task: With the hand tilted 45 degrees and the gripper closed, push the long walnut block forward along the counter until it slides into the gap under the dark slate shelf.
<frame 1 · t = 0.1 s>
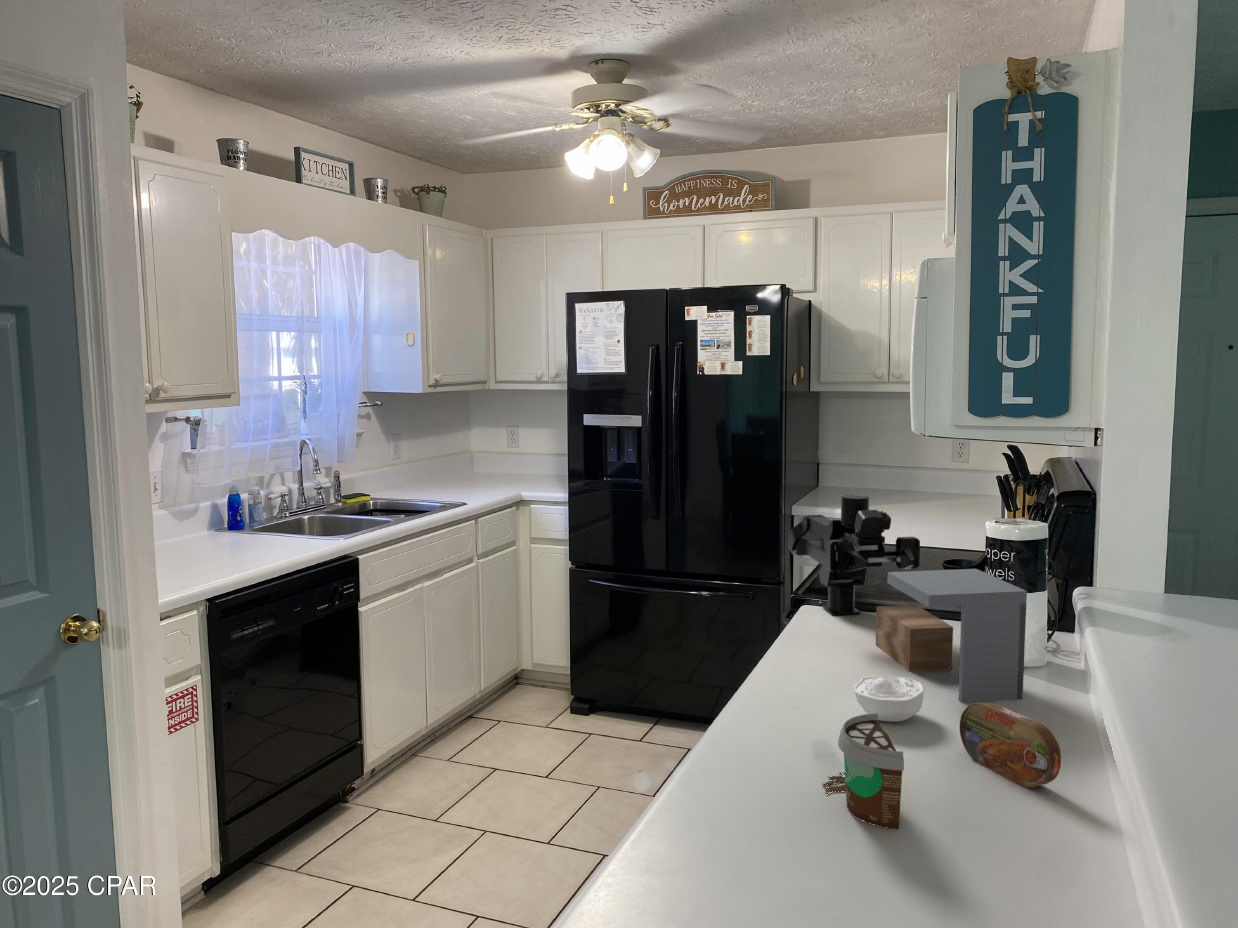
hand: (890, 563, 169), 17 cm above the worktop, tool horizontal, fingers open, 9 cm apart
tin: (1007, 773, 119), on the worktop
food container: (863, 810, 109), on the worktop
white bowl of cream: (888, 718, 137), on the worktop
slate shelf: (950, 683, 151), on the worktop
walnut block: (912, 657, 165), on the worktop
hand saw: (828, 759, 124), on the worktop
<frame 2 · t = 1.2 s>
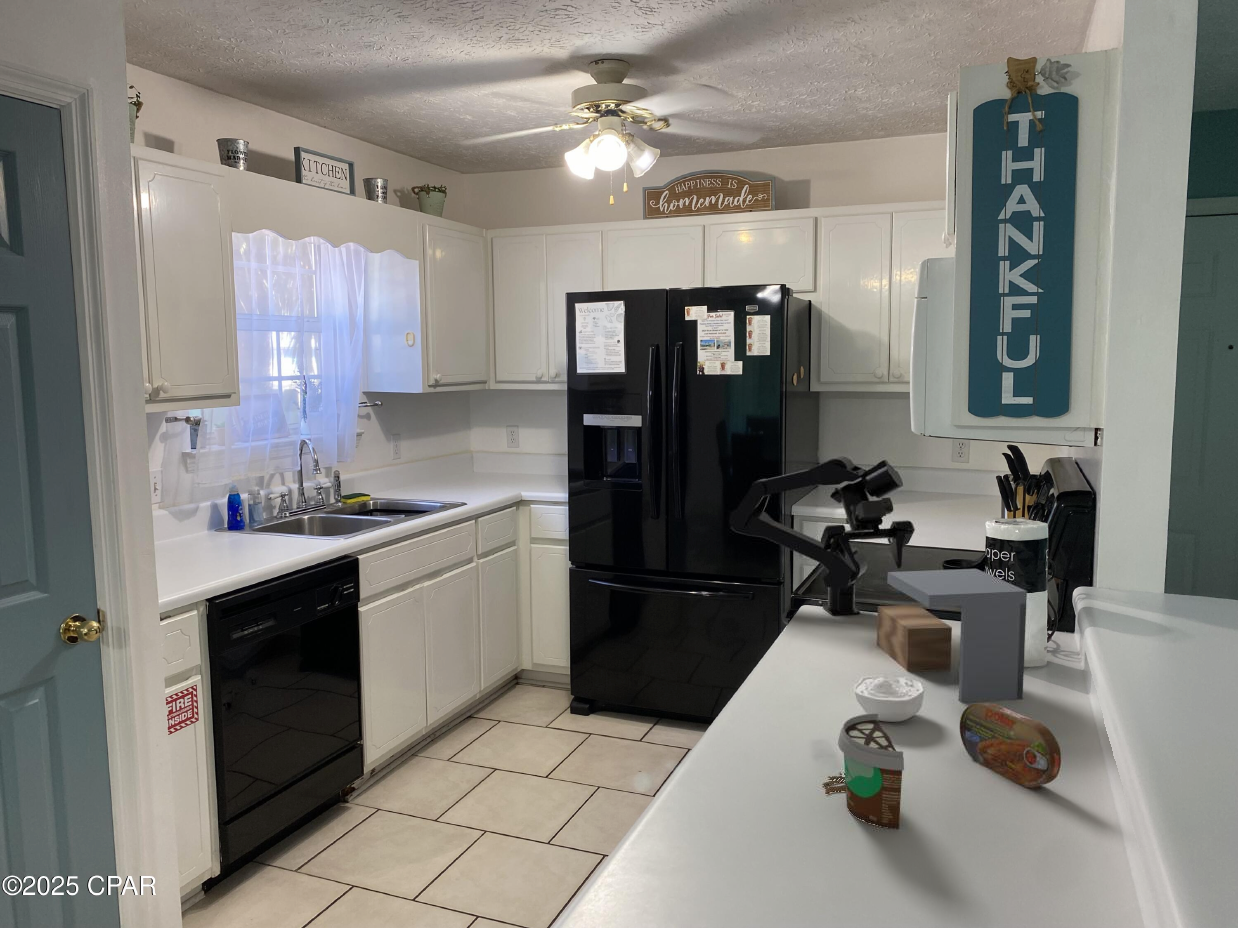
hand: (878, 569, 180), 13 cm above the worktop, tool tilted 45°, fingers open, 9 cm apart
nothing on the worktop moved.
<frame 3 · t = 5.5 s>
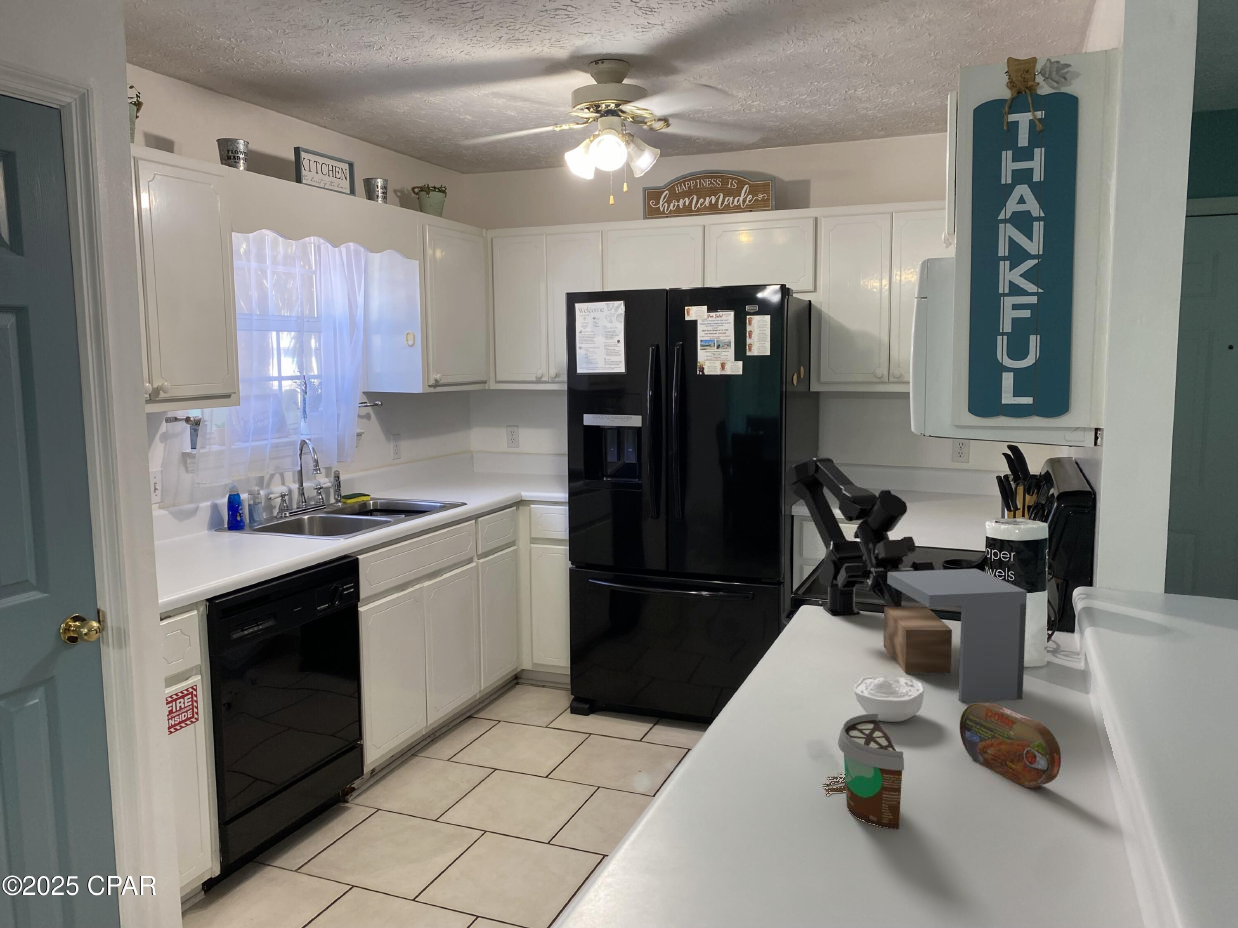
hand: (898, 612, 171), 7 cm above the worktop, tool tilted 45°, fingers closed
walnut block: (915, 659, 164), on the worktop
everything else where it was.
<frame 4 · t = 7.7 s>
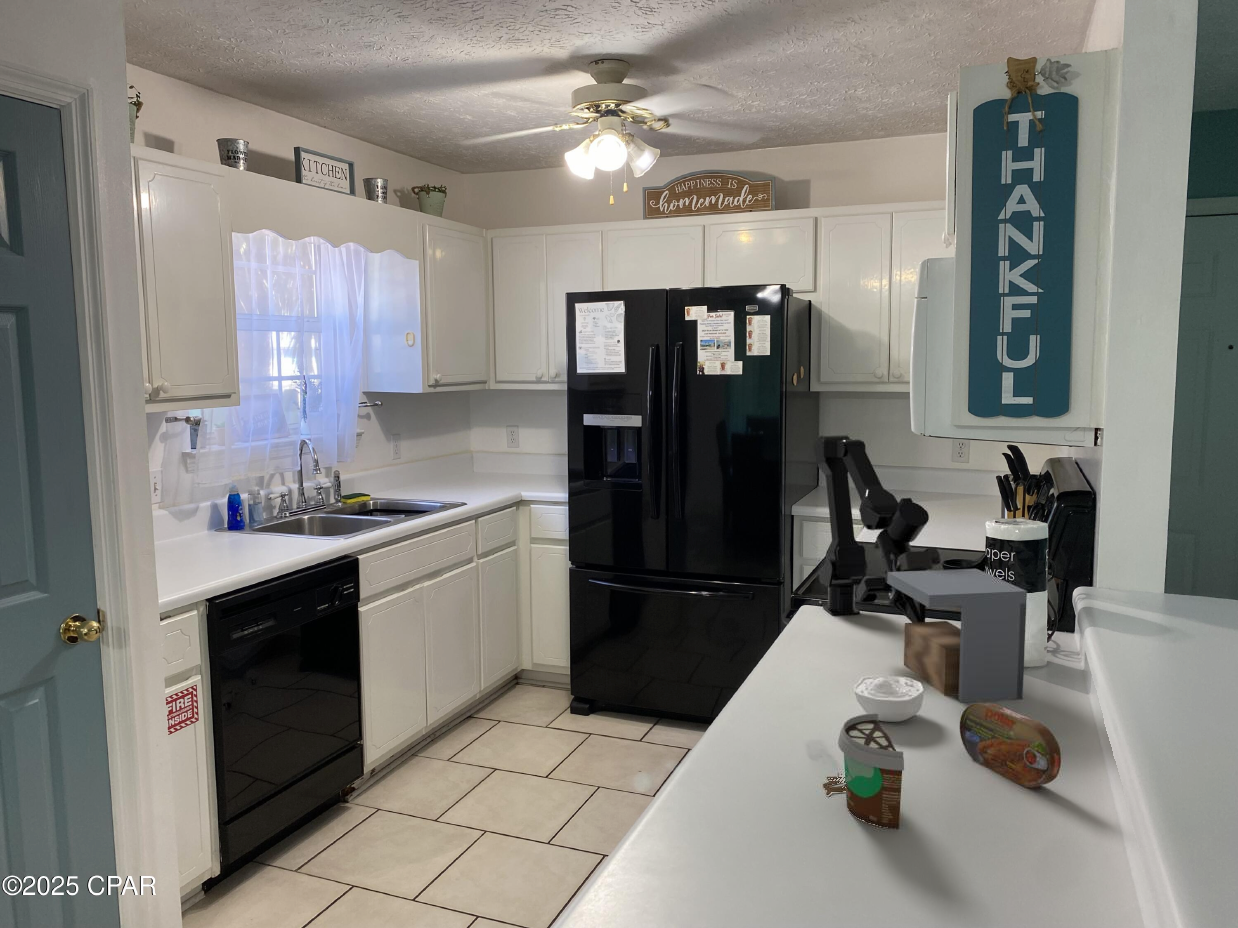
hand: (922, 628, 161), 7 cm above the worktop, tool tilted 45°, fingers closed
walnut block: (944, 678, 154), on the worktop, touching gripper
everything else where it was.
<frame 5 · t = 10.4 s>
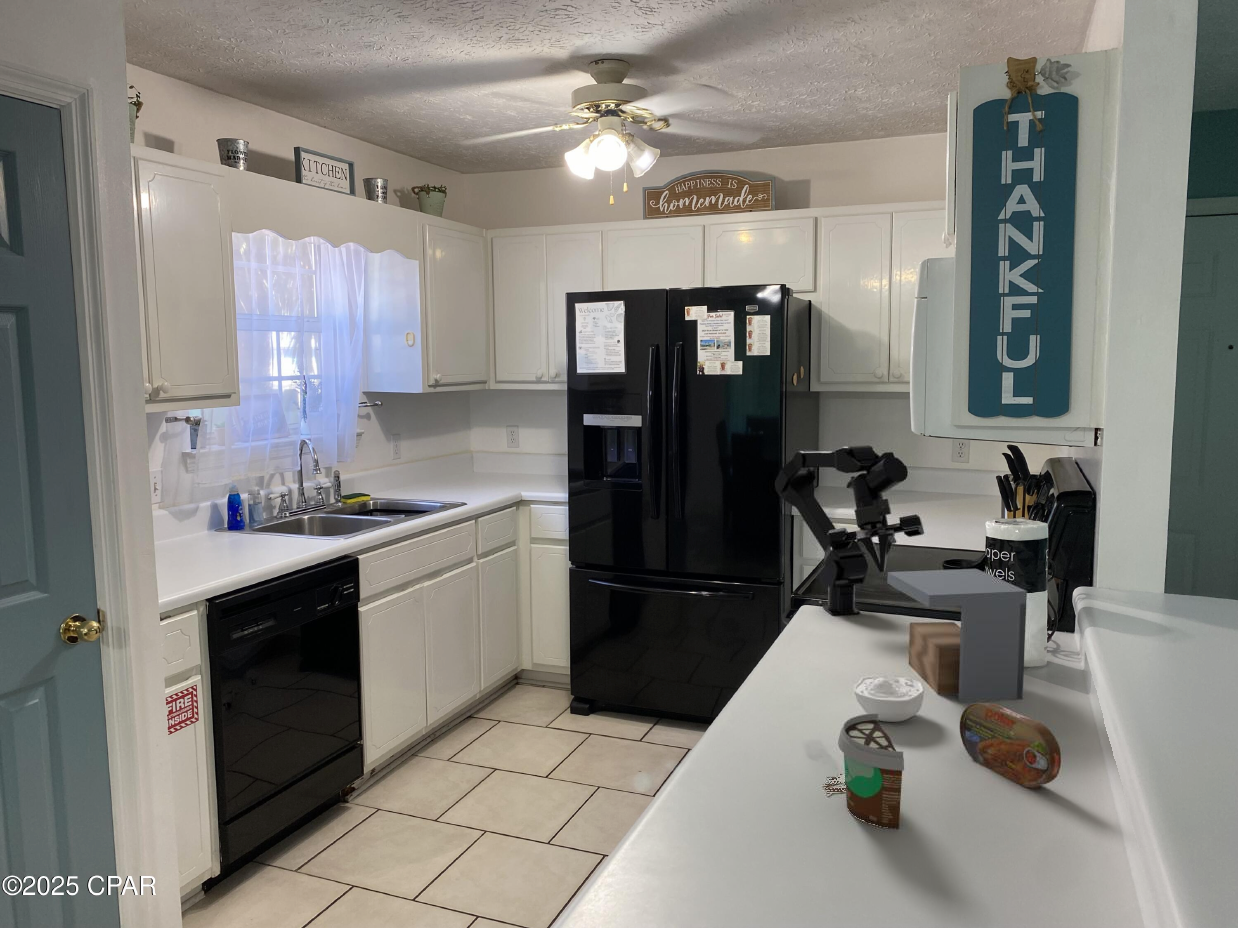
hand: (882, 572, 178), 13 cm above the worktop, tool tilted 30°, fingers closed
walnut block: (945, 679, 154), on the worktop
everything else where it was.
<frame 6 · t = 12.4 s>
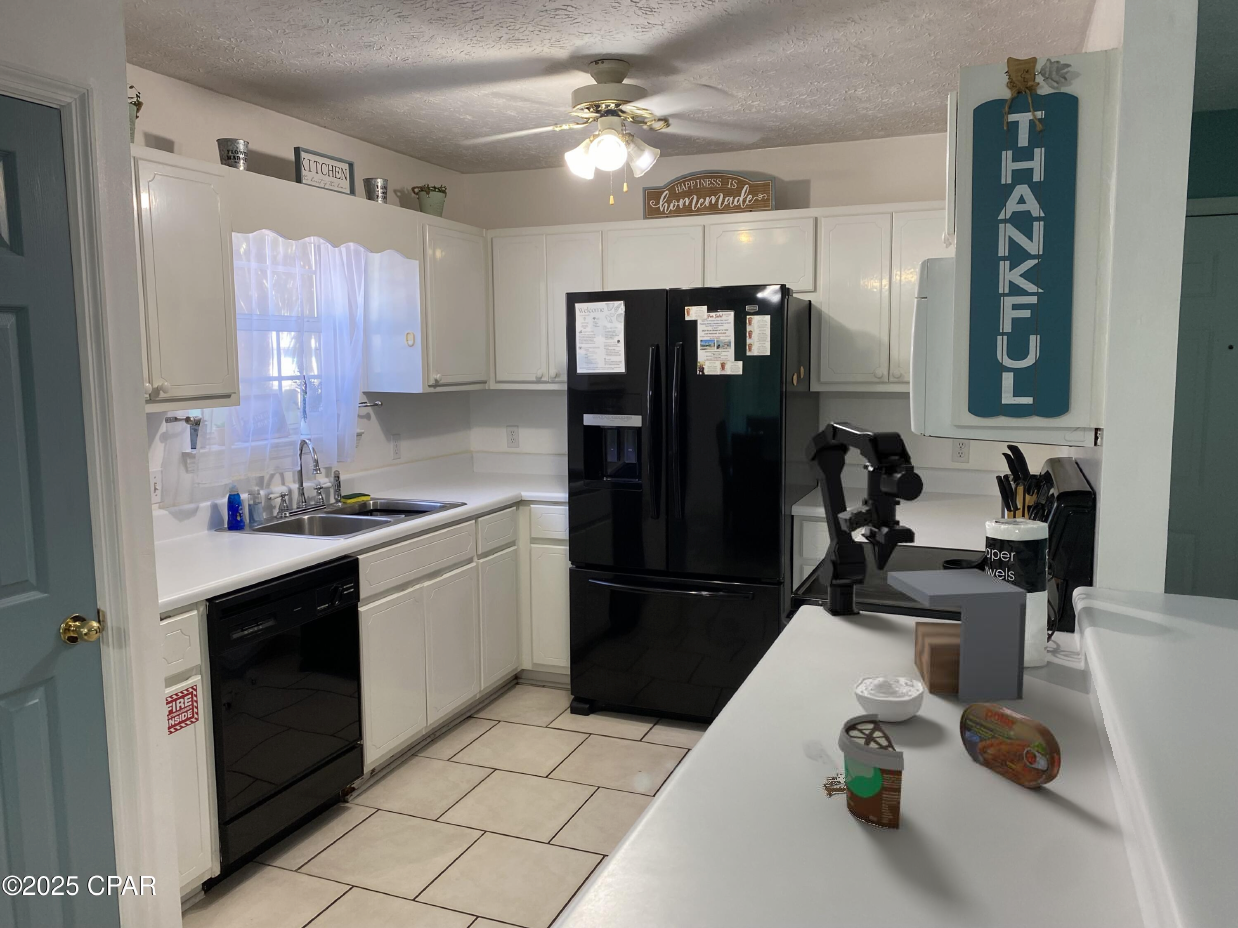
hand: (880, 569, 179), 13 cm above the worktop, tool pointing down, fingers closed
at the end: walnut block inside the target area on the slate shelf (0.7 cm from its centre), point 0.0 cm above the slate shelf's base; walnut block tilted 0° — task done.
